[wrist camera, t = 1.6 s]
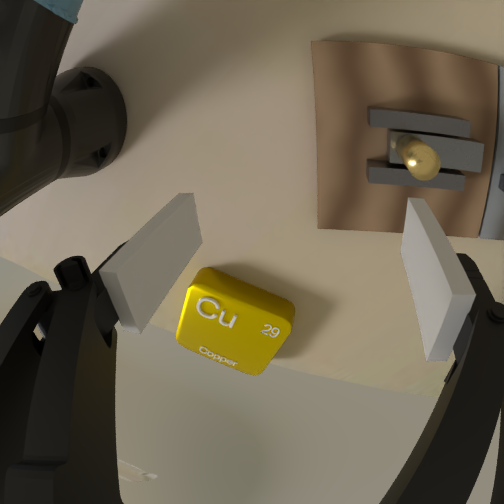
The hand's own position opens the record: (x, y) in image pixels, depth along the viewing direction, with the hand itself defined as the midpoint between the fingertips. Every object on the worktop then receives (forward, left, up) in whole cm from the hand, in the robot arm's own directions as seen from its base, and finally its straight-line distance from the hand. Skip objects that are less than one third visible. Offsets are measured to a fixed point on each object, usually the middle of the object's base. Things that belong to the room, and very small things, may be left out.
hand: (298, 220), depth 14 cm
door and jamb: (+15, 0, -21) cm, 25 cm away
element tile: (-12, -27, -21) cm, 36 cm away
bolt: (+12, 0, -18) cm, 22 cm away
